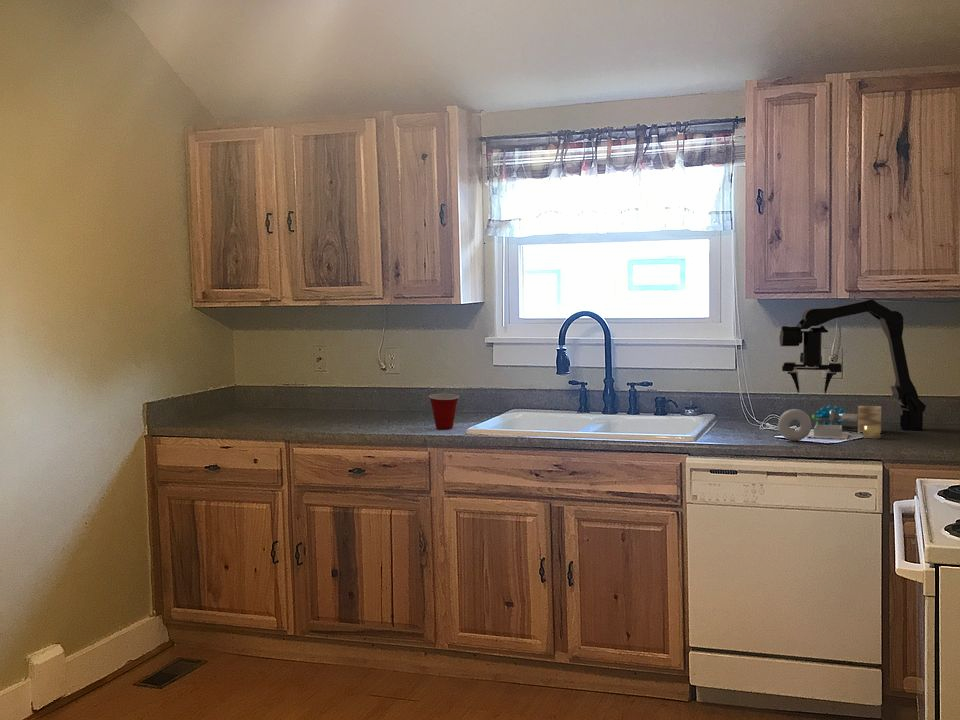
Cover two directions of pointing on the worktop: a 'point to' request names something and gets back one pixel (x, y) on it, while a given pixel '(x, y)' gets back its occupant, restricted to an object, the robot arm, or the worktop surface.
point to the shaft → (841, 417)
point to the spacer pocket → (828, 432)
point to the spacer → (871, 431)
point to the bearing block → (868, 416)
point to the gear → (826, 415)
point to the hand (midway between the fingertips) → (811, 393)
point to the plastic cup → (444, 409)
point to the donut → (794, 415)
